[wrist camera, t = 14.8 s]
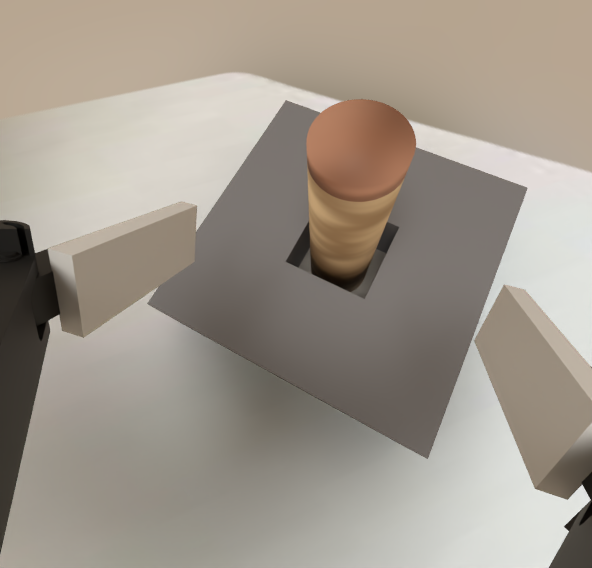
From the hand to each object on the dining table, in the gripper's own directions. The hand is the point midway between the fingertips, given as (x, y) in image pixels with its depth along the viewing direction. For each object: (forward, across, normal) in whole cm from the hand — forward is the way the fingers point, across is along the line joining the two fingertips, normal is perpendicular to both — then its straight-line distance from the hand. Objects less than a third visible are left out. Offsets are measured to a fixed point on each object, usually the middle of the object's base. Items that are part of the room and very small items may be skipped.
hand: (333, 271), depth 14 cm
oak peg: (+15, 0, -6) cm, 16 cm away
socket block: (+16, 0, -7) cm, 17 cm away
